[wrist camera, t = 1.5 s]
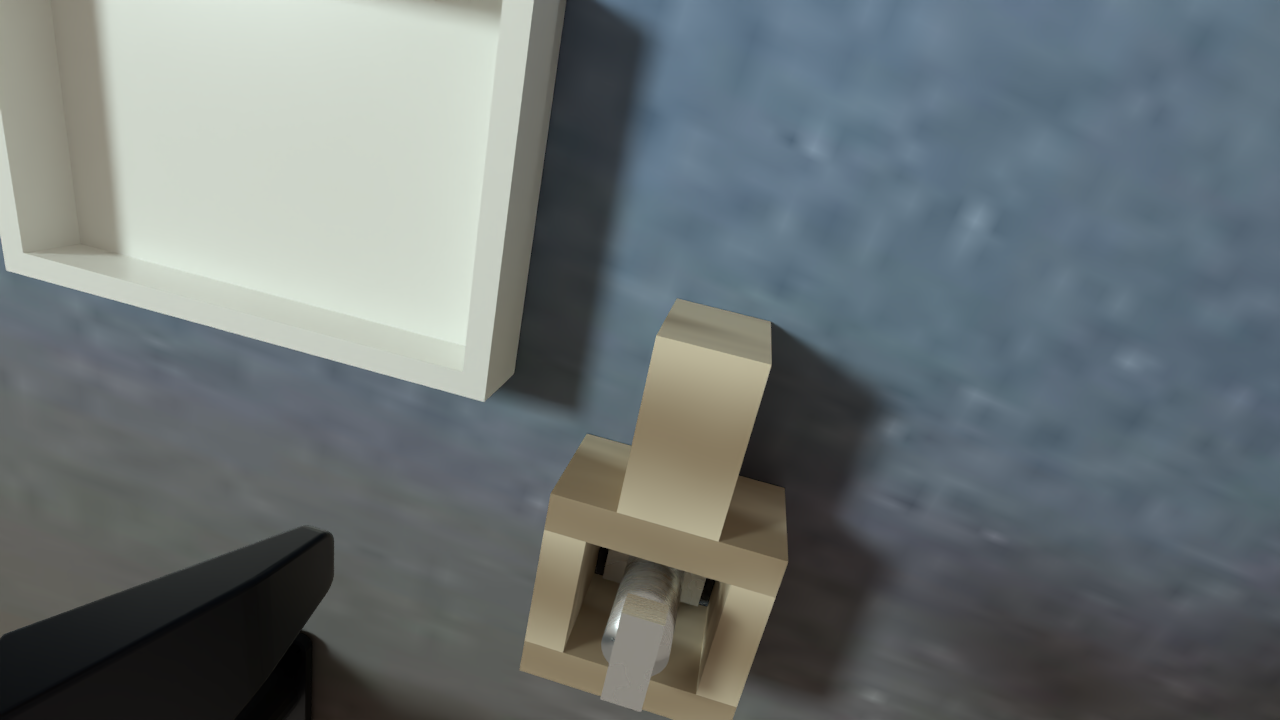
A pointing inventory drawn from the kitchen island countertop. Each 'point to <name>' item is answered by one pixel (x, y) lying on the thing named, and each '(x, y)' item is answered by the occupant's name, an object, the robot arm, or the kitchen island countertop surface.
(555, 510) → the birch collar
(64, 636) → the robot arm
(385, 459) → the kitchen island countertop surface
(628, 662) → the t stake
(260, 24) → the tray
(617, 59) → the kitchen island countertop surface
